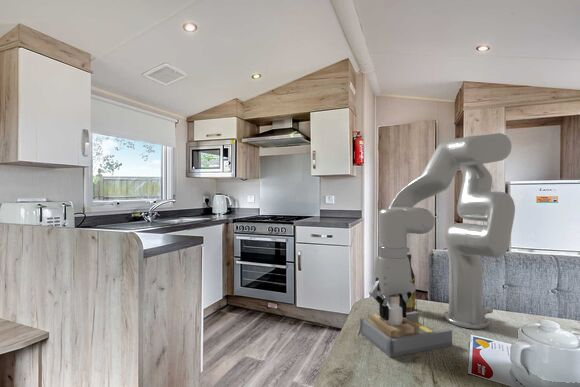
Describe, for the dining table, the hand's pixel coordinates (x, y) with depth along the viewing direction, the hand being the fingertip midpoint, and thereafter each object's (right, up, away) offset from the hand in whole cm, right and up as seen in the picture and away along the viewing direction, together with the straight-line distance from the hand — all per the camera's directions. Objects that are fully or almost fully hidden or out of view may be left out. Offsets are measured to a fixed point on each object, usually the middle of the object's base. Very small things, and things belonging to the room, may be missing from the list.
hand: (393, 316), depth 85 cm
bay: (+4, -7, +1) cm, 8 cm away
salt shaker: (0, -4, 0) cm, 4 cm away
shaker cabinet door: (0, -6, 0) cm, 6 cm away
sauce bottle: (+12, -7, +23) cm, 27 cm away
